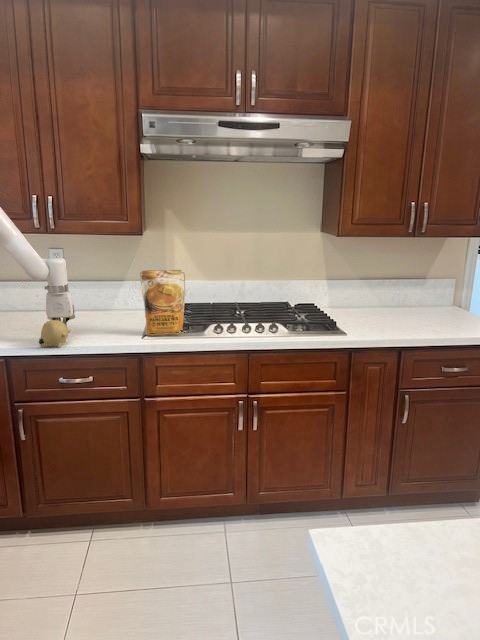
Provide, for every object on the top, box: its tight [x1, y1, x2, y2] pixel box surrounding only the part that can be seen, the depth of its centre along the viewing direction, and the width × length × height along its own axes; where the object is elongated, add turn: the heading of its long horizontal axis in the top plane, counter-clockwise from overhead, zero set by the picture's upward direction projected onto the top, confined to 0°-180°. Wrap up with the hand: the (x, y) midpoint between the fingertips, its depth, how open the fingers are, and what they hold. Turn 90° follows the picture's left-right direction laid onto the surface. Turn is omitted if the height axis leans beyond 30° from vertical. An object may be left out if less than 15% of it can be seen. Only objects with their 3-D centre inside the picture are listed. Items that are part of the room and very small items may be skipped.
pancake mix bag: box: [139, 269, 186, 337], centre depth 200 cm, size 7×19×28 cm, turn 102°
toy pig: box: [38, 319, 72, 348], centre depth 184 cm, size 10×12×11 cm
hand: (63, 332), depth 191 cm, fingers closed
